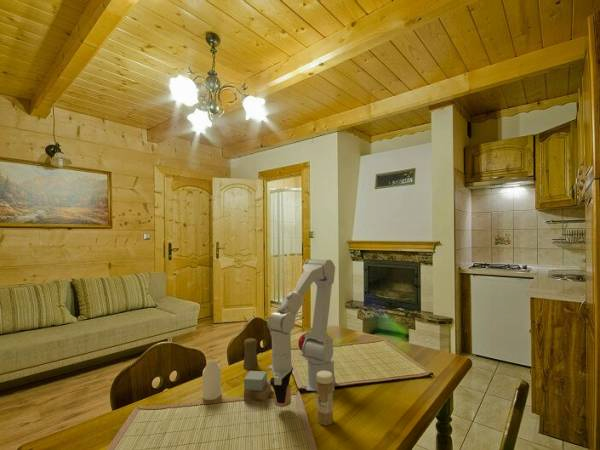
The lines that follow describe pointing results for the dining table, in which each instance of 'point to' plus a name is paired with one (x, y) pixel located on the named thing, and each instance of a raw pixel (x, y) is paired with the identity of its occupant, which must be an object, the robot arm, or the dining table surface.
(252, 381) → the slate-grey block
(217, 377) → the cream domed cylinder
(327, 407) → the sprinkles bottle
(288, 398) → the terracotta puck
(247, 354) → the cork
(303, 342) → the christmas ornament
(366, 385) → the dining table surface
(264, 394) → the walnut slab
